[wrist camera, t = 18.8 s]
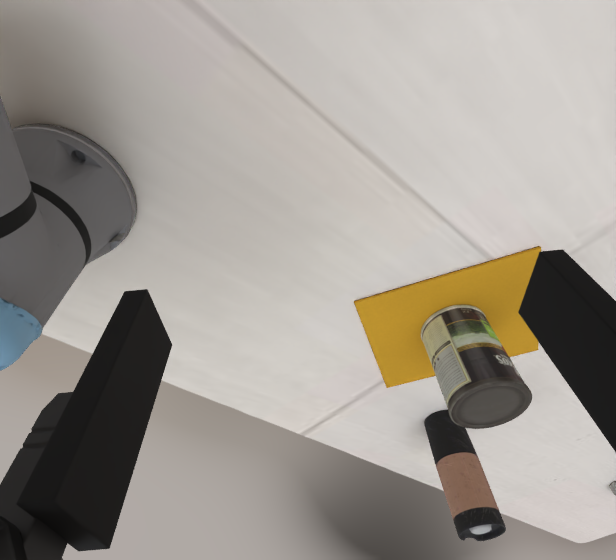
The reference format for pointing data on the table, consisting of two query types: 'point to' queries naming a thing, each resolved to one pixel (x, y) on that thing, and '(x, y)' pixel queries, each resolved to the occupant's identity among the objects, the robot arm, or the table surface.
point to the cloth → (440, 294)
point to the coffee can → (473, 368)
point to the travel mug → (463, 479)
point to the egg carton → (613, 487)
